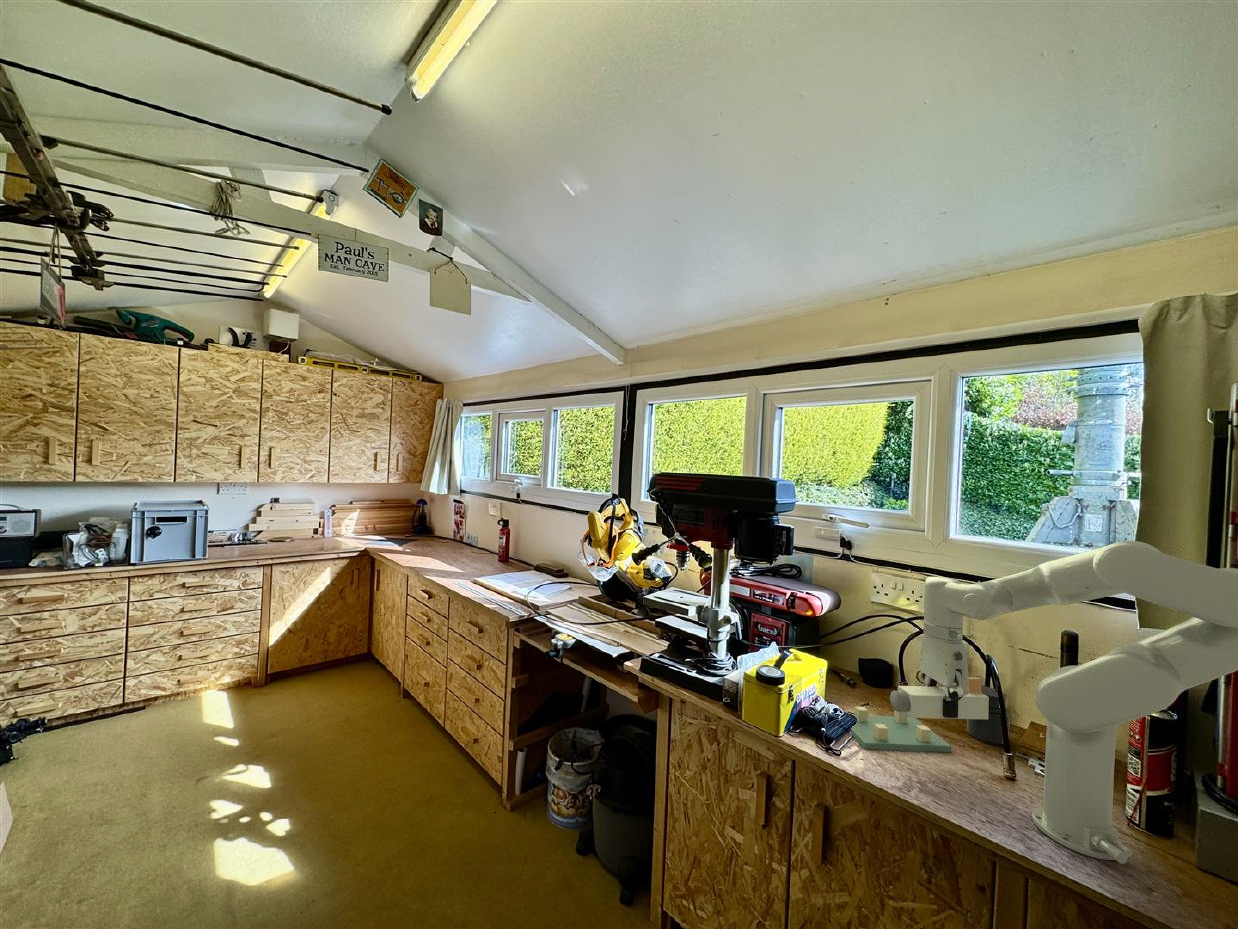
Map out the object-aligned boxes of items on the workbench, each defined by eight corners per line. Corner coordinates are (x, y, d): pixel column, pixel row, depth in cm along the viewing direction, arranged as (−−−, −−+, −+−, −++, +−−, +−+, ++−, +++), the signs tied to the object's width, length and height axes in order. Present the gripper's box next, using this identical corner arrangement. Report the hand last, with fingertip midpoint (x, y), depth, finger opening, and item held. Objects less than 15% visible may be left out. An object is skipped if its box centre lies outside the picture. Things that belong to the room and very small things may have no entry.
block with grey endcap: (988, 719, 109) (988, 682, 109) (902, 717, 108) (903, 680, 109) (971, 709, 114) (971, 674, 114) (889, 707, 113) (889, 671, 114)
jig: (951, 752, 119) (952, 733, 119) (864, 749, 118) (865, 730, 118) (914, 722, 133) (914, 706, 133) (836, 719, 132) (836, 703, 132)
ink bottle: (1019, 745, 124) (1021, 698, 125) (995, 749, 121) (998, 701, 122) (979, 725, 133) (981, 682, 134) (957, 729, 131) (959, 685, 131)
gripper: (988, 644, 104) (986, 730, 103) (932, 621, 121) (931, 695, 120) (954, 643, 103) (952, 730, 103) (903, 620, 120) (902, 694, 120)
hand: (941, 710), depth 111 cm, fingers closed on block with grey endcap, 5 cm apart
